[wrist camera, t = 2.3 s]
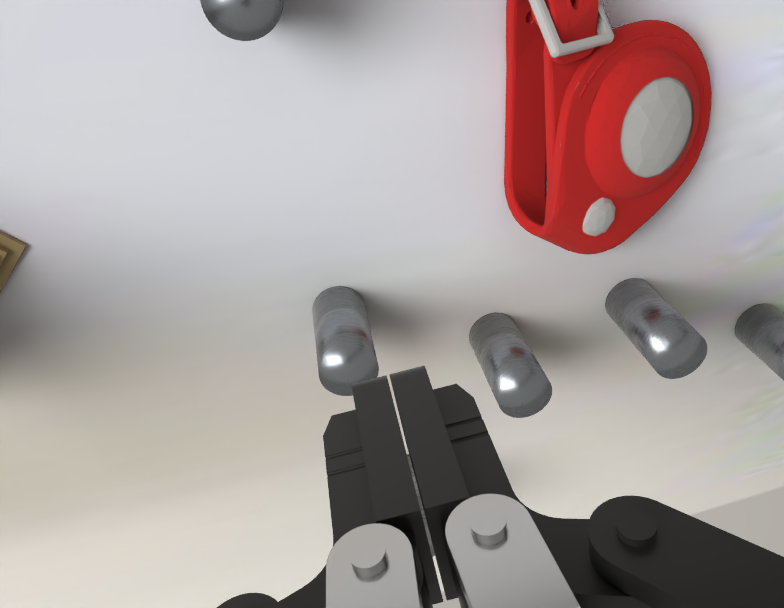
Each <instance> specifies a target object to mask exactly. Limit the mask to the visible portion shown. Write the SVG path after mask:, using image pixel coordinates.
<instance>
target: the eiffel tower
mask: <svg viewBox="0 0 784 608" xmlns="http://www.w3.org/2000/svg"><path fill="white" fill-rule="evenodd" d="M26 245H27V244H26V243H24V242H22V241H20V240H18V239H16V238H14V237H12V236H10V235H8V234H6V233H4V232H2V231H0V291H1V290H2V288H3V286H4V284H5V283H6V281H7V279H8V277H9V275H10V274H11V272H12V270H13V268H14V267H15V265H16V263H17V261H18V260H19V258H20V256H21V254H22V252H23V251H24V249H25V247H26Z"/></svg>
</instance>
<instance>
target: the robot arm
mask: <svg viewBox="0 0 784 608" xmlns="http://www.w3.org/2000/svg"><path fill="white" fill-rule="evenodd" d="M390 378H391V382H392V387H393V391H394V395H395V399H396V403H397V407H398V411H399V415H400V419H401V423H402V427H403V431H404V436H405V440H406V444H407V448H408V451H409V455H410V459H411V463H412V467H413V471H414V475H415V479H416V483H417V486H418V490H419V494H420V498H421V502H422V506H423V510H424V514H425V517H426V521H427V525H428V529H429V533H430V537H431V541H432V545H433V548H434V552H435V556H436V560H437V564H438V568H439V572H440V575H441V579H442V583H443V587H444V591H445V595H446V599H447V600H450V599H454V598H459V602H460V605H461V608H784V557H782V556H780V555H777V554H775V553H773V552H771V551H769V550H766V549H764V548H762V547H760V546H757V545H755V544H753V543H750V542H748V541H746V540H744V539H741V538H739V537H737V536H735V535H732V534H730V533H728V532H726V531H723V530H721V529H719V528H716V527H714V526H712V525H710V524H707V523H705V522H703V521H701V520H698V519H696V518H694V517H692V516H689V515H687V514H685V513H682V512H680V511H678V510H676V509H673V508H671V507H669V506H667V505H664V504H662V503H660V502H658V501H655V500H652V499H649V498H645V497H641V496H621V497H616V498H613V499H610V500H608V501H606V502H604V503H602V504H601V505H600V506H598V507H597V508H596V510H595V511H594V512H593V513H592V515H591V517H590V519H562V518H553V517H548V516H545V515H542V514H539V513H537V512H535V511H533V510H531V509H529V508H528V507H526V506H525V505H524V504H523V503H522V502H520V500H519V499H518V498H517V497H516V495H515V494H514V492H513V490H512V487H511V485H510V483H509V480H508V478H507V476H506V473H505V471H504V469H503V466H502V464H501V461H500V459H499V457H498V454H497V452H496V450H495V447H494V445H493V443H492V440H491V438H490V435H489V434H488V431H487V428H486V426H485V424H484V421H483V420H482V417H481V414H480V412H479V409H478V407H477V405H476V402H475V400H474V398H473V397H472V396H471V395H470V394H469V393H467V392H466V391H465V390H464V389H462V388H461V387H460V386H458V385H457V384H454V385H450V386H446V387H442V388H438V389H434V390H433V389H432V386H431V383H430V380H429V377H428V374H427V371H426V369H425V366H421V367H417V368H413V369H409V370H405V371H401V372H397V373H393V374H390ZM352 390H353V396H354V402H355V408H356V410H352V411H348V412H345V413H341V414H337V415H333V416H331V419H330V421H329V423H328V426H327V428H326V431H325V433H324V435H323V439H324V449H325V457H326V469H327V475H328V477H327V479H328V488H329V498H330V508H331V518H332V528H333V548H332V549H331V551H330V553H329V556H328V559H327V564H326V565H325V567H324V568H323V570H322V571H321V572H320V573H319V574H318V575H317V577H316V578H314V579H313V580H312V581H311V582H310V583H309V584H307V585H306V586H304V587H303V588H301V589H299V590H298V591H296V592H294V593H293V594H291V595H289V596H288V597H286V598H284V599H283V600H281V601H279V602H277V601H276V600H275V599H274V598H272V597H270V596H268V595H265V594H261V593H247V594H242V595H239V596H236V597H233V598H231V599H229V600H227V601H226V602H224V603H223V604H221V605H220V606H218V607H217V608H433V606H432V604H436V603H440V602H443V599H442V595H441V591H440V587H439V583H438V578H437V574H436V570H435V566H434V562H433V558H432V554H431V550H430V546H429V542H428V538H427V534H426V530H425V526H424V522H423V518H422V514H421V510H420V506H419V502H418V498H417V494H416V490H415V486H414V482H413V478H412V474H411V470H410V466H409V462H408V458H407V455H406V451H405V447H404V443H403V439H402V435H401V431H400V427H399V423H398V419H397V415H396V411H395V407H394V403H393V399H392V395H391V391H390V387H389V383H388V379H387V376H382V377H378V378H374V379H370V380H367V381H363V382H359V383H355V384H352Z"/></svg>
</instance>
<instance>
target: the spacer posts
mask: <svg viewBox="0 0 784 608" xmlns="http://www.w3.org/2000/svg"><path fill="white" fill-rule="evenodd" d="M200 1H201V5H202V8H203V11H204V13H205V15H206V17H207V19H208V20H209V22H210V23H211V24H212V25H213V26H214V27H215V28H216V29H217V30H218V31H219V32H221V33H222V34H224V35H225V36H227V37H229V38H232V39H235V40H241V41H250V40H255V39H258V38H261V37H263V36H265V35H266V34H268V33H269V32H270V31H271V30H272V29H273V28H274V27H275V25H276V24H277V22H278V21H279V18H280V16H281V13H282V9H283V0H200ZM605 306H606V311H607V313H608V314H609V316H610V317H611V318H612V319H613V320H614V322H615V323H616V324H617V325H618V326H619V327H620V329H621V330H622V331H623V332H624V333H625V335H626V336H627V337H628V338H629V339H630V341H631V342H632V343H633V344H634V345H635V347H636V348H637V349H638V350H639V351H640V352H641V354H642V355H643V356H644V357H645V358H646V360H647V361H648V362H649V363H650V364H651V366H652V367H653V368H654V369H655V370H656V371H657V373H658V374H659V375H661V376H662V377H665V378H669V379H675V378H681V377H684V376H686V375H688V374H690V373H692V372H693V371H694V370H696V369H697V368H698V367H699V366H700V365H701V363H702V362H703V360H704V359H705V356H706V353H707V344H706V341H705V339H704V338H703V337H702V336H701V335H700V334H699V333H698V332H697V331H696V330H695V329H694V328H693V327H692V326H691V325H690V324H689V323H688V322H687V321H686V320H685V319H683V318H682V317H681V316H680V315H679V314H678V313H677V312H676V311H675V310H674V309H673V308H672V307H671V306H670V305H669V304H668V303H667V302H666V301H665V300H664V299H663V298H662V297H661V296H660V295H659V294H658V293H657V292H656V291H655V290H654V289H653V288H652V287H651V286H650V285H649V284H648V283H647V282H645V281H644V280H641V279H636V278H633V279H627V280H625V281H622V282H620V283H619V284H617V285H616V286H615V287H614V288H613V289H612V290H611V291H610V293H609V294H608V296H607V299H606V305H605ZM313 320H314V330H315V340H316V350H317V361H318V371H319V378H320V381H321V383H322V385H323V386H324V387H325V388H326V389H327V390H329V391H330V392H332V393H334V394H337V395H342V396H351V395H353V390H352V384H355V383H359V382H363V381H367V380H370V379H374V378H377V376H378V371H379V367H378V362H377V358H376V354H375V349H374V345H373V341H372V336H371V332H370V328H369V324H368V319H367V315H366V311H365V306H364V302H363V300H362V298H361V296H360V295H359V294H358V293H357V292H356V291H354V290H353V289H350V288H347V287H341V286H338V287H332V288H329V289H327V290H325V291H323V292H322V293H320V294H319V295H318V297H317V298H316V300H315V301H314V304H313ZM735 335H736V337H737V338H738V339H739V340H740V341H741V342H742V343H743V344H744V345H745V346H746V347H748V348H749V349H750V350H751V351H752V352H753V353H754V354H755V355H756V356H757V357H758V358H760V359H761V360H762V361H763V362H764V363H765V364H766V365H767V366H768V367H769V368H771V369H772V370H773V371H774V372H775V373H776V374H777V375H778V376H779V377H780V378H782V379H783V380H784V314H783V313H782V312H780V311H779V310H778V309H776V308H775V307H774V306H772V305H770V304H759V305H755V306H753V307H751V308H749V309H748V310H747V311H745V312H744V313H743V314H742V315H741V316H740V318H739V319H738V321H737V323H736V326H735ZM469 341H470V344H471V346H472V348H473V350H474V352H475V355H476V357H477V359H478V361H479V363H480V365H481V368H482V370H483V372H484V374H485V376H486V379H487V381H488V383H489V385H490V387H491V389H492V392H493V394H494V396H495V398H496V400H497V402H498V405H499V407H500V409H501V410H502V411H503V412H504V413H505V414H507V415H509V416H511V417H516V418H522V417H528V416H531V415H534V414H536V413H537V412H539V411H540V410H542V409H543V408H544V407H545V406H546V405H547V403H548V402H549V400H550V398H551V395H552V386H551V383H550V382H549V380H548V378H547V377H546V375H545V373H544V371H543V370H542V368H541V366H540V365H539V363H538V361H537V360H536V358H535V356H534V355H533V353H532V351H531V350H530V348H529V346H528V344H527V343H526V341H525V339H524V338H523V336H522V334H521V333H520V331H519V329H518V328H517V326H516V324H515V323H514V321H513V320H512V319H511V318H510V317H509V316H507V315H505V314H502V313H492V314H488V315H485V316H483V317H481V318H480V319H479V320H477V321H476V322H475V323H474V325H473V326H472V328H471V330H470V334H469ZM407 458H408V462H409V466H410V470H411V474H412V478H413V482H414V486H415V490H416V494H417V498H418V502H419V506H420V510H421V514H422V518H423V522H424V526H425V530H426V534H427V538H428V542H429V546H430V550H431V554H432V557H433V556H434V555H435V552H434V548H433V545H432V541H431V537H430V533H429V529H428V525H427V521H426V517H425V514H424V510H423V506H422V502H421V498H420V494H419V490H418V486H417V483H416V479H415V475H414V471H413V467H412V463H411V459H410V455H407Z"/></svg>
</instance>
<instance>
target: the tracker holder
mask: <svg viewBox="0 0 784 608" xmlns="http://www.w3.org/2000/svg"><path fill="white" fill-rule="evenodd" d="M506 60H507V72H506V123H505V167H504V185H505V195H506V199H507V203H508V206H509V209H510V211H511V212H512V214H513V216H514V218H515V219H516V221H517V222H518V223H519V224H520V225H521V226H522V227H523V228H524V229H525V230H527V231H528V232H530V233H531V234H533V235H536V236H538V237H540V238H542V239H544V240H546V241H549V242H551V243H553V244H555V245H557V246H560V247H562V248H564V249H566V250H568V251H572V252H576V253H580V254H596V253H600V252H604V251H606V250H609V249H612V248H614V247H616V246H617V245H619V244H621V243H622V242H624V241H625V240H626V239H627V238H628V237H629V236H631V235H632V234H633V233H634V232H635V231H636V230H637V229H638V228H640V227H641V226H642V225H643V224H644V223H645V222H646V221H647V220H649V219H650V218H651V217H652V216H653V215H654V214H655V213H656V212H657V211H658V210H659V209H660V208H661V207H662V206H663V205H664V204H665V203H666V201H667V200H668V199H669V198H670V197H671V196H672V195H673V194H674V193H675V191H676V190H677V189H678V188H679V187H680V186H681V184H682V183H683V182H684V181H685V179H686V178H687V176H688V175H689V174H690V172H691V170H692V169H693V167H694V165H695V164H696V162H697V160H698V157H699V155H700V152H701V150H702V147H703V144H704V141H705V138H706V134H707V130H708V126H709V118H710V110H711V85H710V77H709V72H708V68H707V64H706V61H705V59H704V57H703V54H702V52H701V50H700V49H699V47H698V45H697V43H696V42H695V41H694V40H693V39H692V38H691V36H690V35H689V34H688V33H687V32H685V31H684V30H683V29H681V28H680V27H678V26H676V25H673V24H671V23H668V22H664V21H658V20H644V21H639V22H634V23H630V24H627V25H623V26H621V27H619V28H616V29H614V30H612V29H611V26H610V24H609V21H608V19H607V16H606V14H605V11H604V9H603V6H602V4H601V1H600V0H507V6H506ZM546 160H547V195H546V194H545V184H546Z"/></svg>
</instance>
